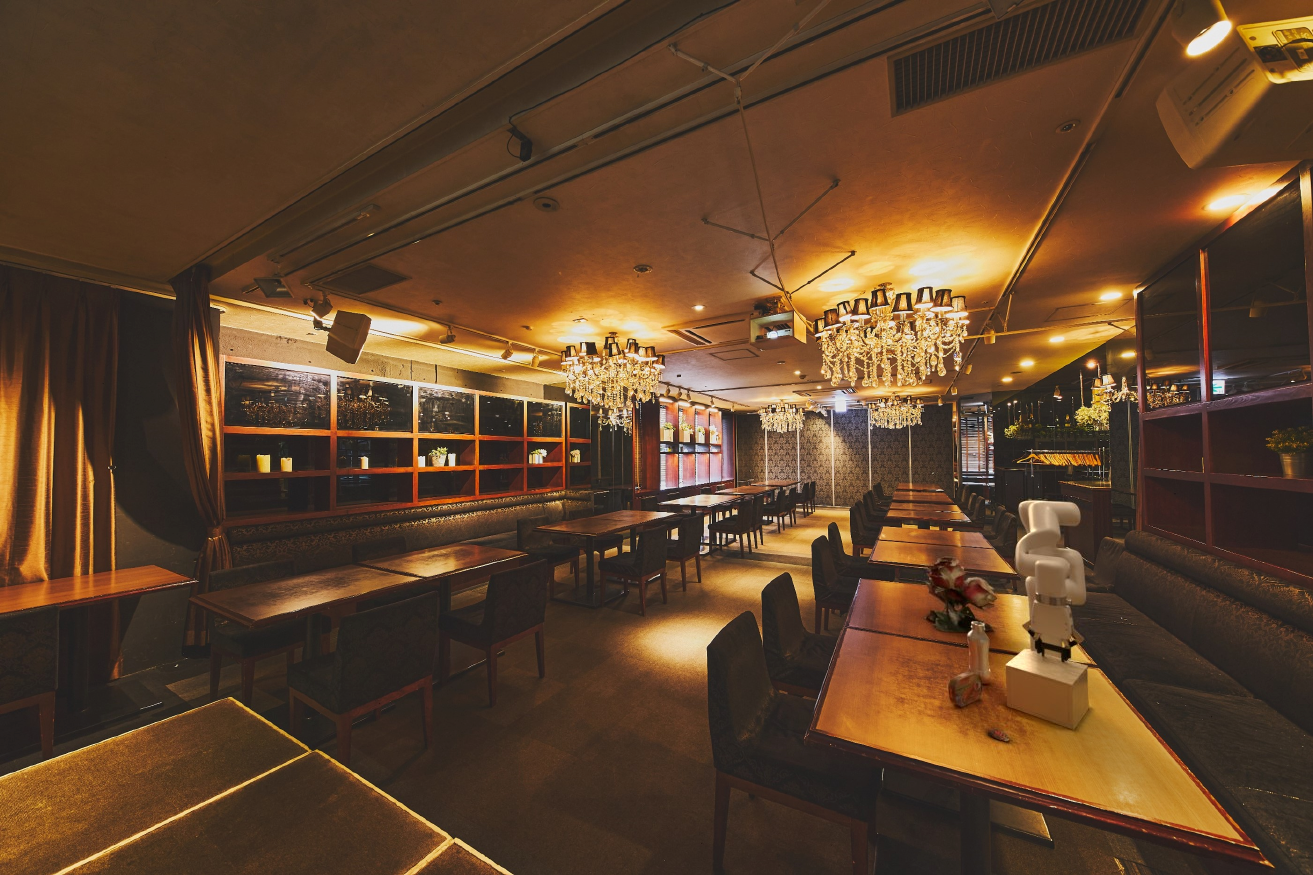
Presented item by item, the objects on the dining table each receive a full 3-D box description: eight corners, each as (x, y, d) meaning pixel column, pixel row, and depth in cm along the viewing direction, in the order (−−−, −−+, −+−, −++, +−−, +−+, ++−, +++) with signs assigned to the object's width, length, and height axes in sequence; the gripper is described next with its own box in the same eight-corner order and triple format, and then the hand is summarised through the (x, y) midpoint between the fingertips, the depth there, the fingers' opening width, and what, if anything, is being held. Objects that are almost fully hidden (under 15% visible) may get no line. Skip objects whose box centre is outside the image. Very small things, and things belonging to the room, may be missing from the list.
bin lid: (1024, 651, 158) (1024, 634, 158) (1088, 668, 145) (1087, 650, 146) (1005, 667, 147) (1005, 649, 147) (1072, 687, 134) (1071, 668, 134)
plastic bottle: (995, 687, 158) (993, 627, 159) (973, 685, 159) (971, 626, 160) (986, 677, 164) (984, 620, 165) (964, 676, 166) (963, 619, 166)
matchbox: (986, 734, 132) (986, 733, 132) (992, 728, 135) (992, 726, 135) (1006, 742, 128) (1006, 741, 128) (1012, 735, 131) (1012, 733, 131)
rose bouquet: (1007, 632, 204) (1004, 563, 205) (940, 632, 205) (938, 563, 206) (968, 611, 230) (966, 550, 231) (909, 612, 230) (907, 551, 231)
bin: (1025, 687, 157) (1024, 651, 158) (1088, 708, 145) (1087, 669, 145) (1006, 705, 147) (1005, 667, 147) (1073, 729, 134) (1072, 687, 134)
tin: (956, 710, 145) (955, 682, 145) (946, 705, 147) (945, 678, 148) (984, 697, 152) (983, 671, 152) (973, 693, 154) (972, 667, 155)
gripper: (1089, 604, 146) (1091, 662, 146) (1021, 591, 160) (1023, 644, 160) (1083, 609, 142) (1085, 669, 141) (1014, 595, 156) (1016, 650, 155)
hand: (1052, 655), depth 150 cm, fingers closed on bin lid, 6 cm apart
